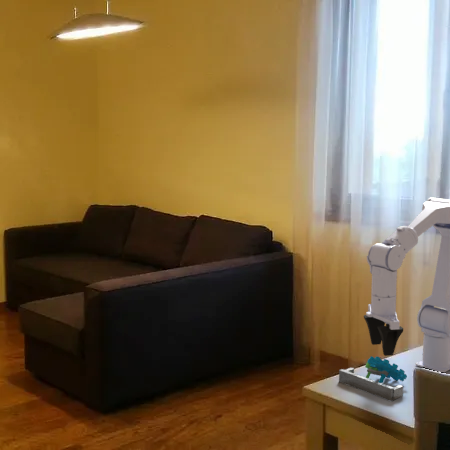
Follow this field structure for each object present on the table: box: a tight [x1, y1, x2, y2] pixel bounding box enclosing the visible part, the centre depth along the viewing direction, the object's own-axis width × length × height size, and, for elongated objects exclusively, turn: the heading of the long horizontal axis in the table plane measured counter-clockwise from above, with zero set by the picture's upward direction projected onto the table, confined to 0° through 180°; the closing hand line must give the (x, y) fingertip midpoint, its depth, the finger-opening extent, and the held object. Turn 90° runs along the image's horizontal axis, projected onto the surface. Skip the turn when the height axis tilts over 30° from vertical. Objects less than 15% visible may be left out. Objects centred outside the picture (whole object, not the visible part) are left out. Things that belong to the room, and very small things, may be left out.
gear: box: [364, 356, 408, 384], centre depth 167 cm, size 11×6×10 cm
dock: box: [338, 367, 404, 402], centre depth 164 cm, size 4×16×3 cm, turn 40°
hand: (382, 349), depth 163 cm, fingers open, 7 cm apart
